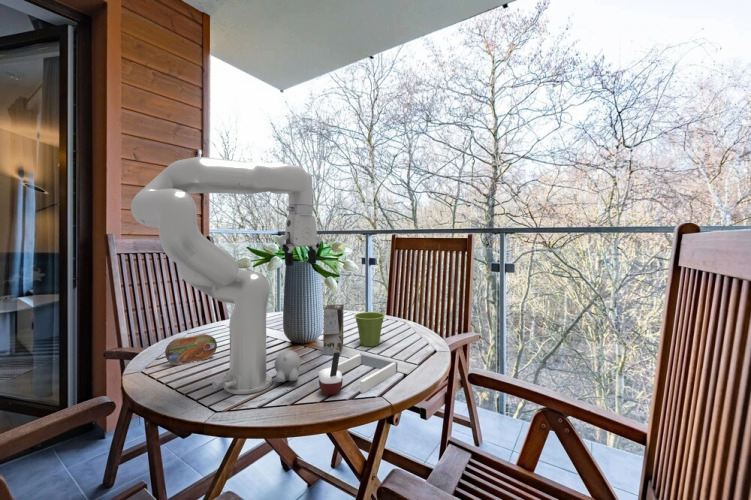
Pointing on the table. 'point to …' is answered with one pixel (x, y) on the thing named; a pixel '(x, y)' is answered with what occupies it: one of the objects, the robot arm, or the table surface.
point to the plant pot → (369, 327)
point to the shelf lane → (385, 365)
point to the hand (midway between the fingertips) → (301, 264)
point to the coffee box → (333, 329)
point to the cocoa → (331, 378)
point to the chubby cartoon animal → (287, 366)
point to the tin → (190, 349)
